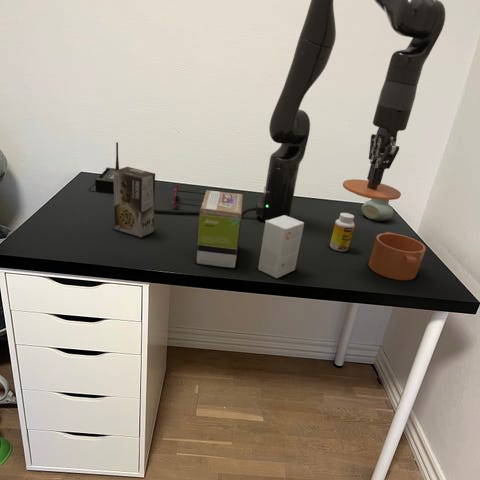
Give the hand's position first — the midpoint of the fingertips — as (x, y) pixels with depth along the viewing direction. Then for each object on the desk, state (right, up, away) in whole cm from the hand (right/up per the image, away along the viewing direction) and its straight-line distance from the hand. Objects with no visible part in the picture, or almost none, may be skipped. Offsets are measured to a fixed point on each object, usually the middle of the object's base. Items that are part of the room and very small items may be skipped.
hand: (373, 182), depth 114 cm
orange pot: (+10, -19, +17) cm, 27 cm away
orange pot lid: (0, -2, +1) cm, 2 cm away
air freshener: (+16, +3, +55) cm, 57 cm away
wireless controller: (-74, +11, +46) cm, 88 cm away
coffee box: (-62, -9, +17) cm, 64 cm away
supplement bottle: (-3, -12, +25) cm, 28 cm away
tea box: (-38, -16, +10) cm, 43 cm away
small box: (-23, -21, +7) cm, 32 cm away
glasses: (-46, +4, +41) cm, 62 cm away
